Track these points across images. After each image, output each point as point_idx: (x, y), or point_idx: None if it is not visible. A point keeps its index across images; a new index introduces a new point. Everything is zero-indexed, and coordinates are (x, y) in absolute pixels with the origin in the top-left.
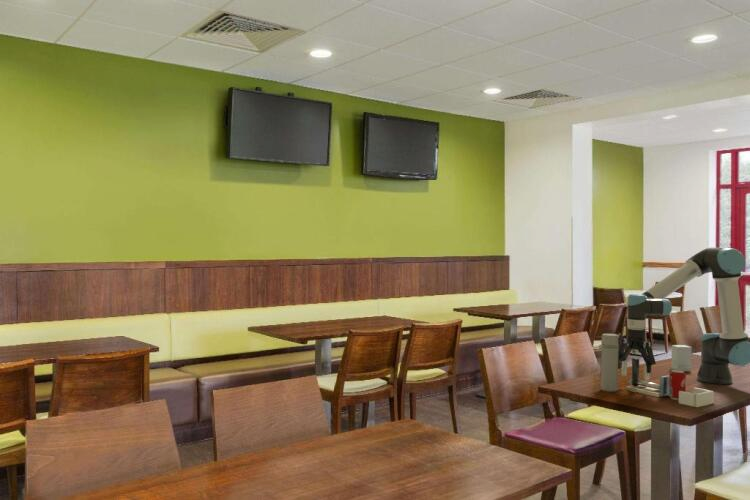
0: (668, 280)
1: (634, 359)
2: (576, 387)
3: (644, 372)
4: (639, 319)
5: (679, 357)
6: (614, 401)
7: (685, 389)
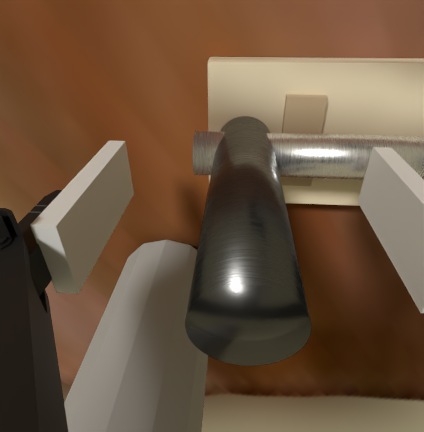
0: None
1: (257, 359)
2: (57, 320)
3: (383, 246)
4: None
5: None
6: (312, 382)
7: None
